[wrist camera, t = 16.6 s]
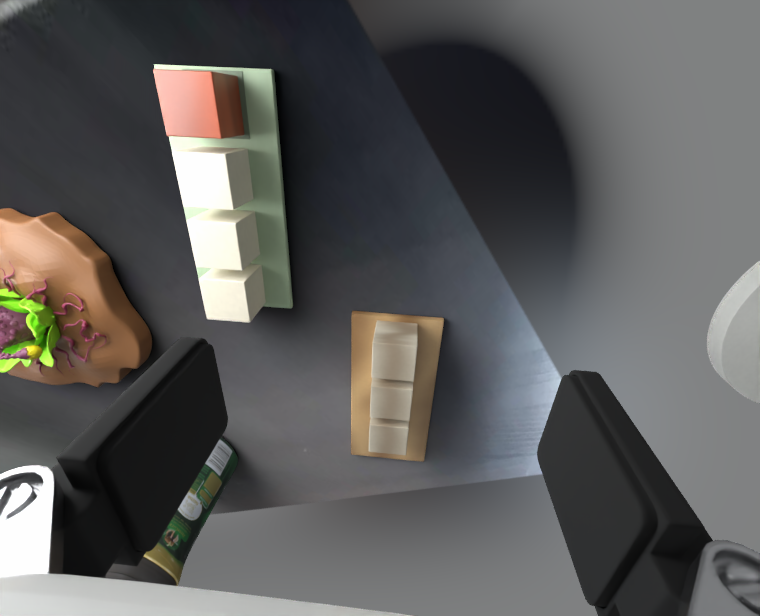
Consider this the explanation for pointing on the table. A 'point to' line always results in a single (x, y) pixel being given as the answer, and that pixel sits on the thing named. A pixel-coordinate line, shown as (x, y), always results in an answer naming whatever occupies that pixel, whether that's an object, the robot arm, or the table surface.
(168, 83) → the orange wooden cube
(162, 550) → the coffee jar
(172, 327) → the table surface
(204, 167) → the word board
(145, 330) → the plant
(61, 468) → the robot arm
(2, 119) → the table surface
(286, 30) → the table surface
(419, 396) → the word board
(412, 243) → the table surface
